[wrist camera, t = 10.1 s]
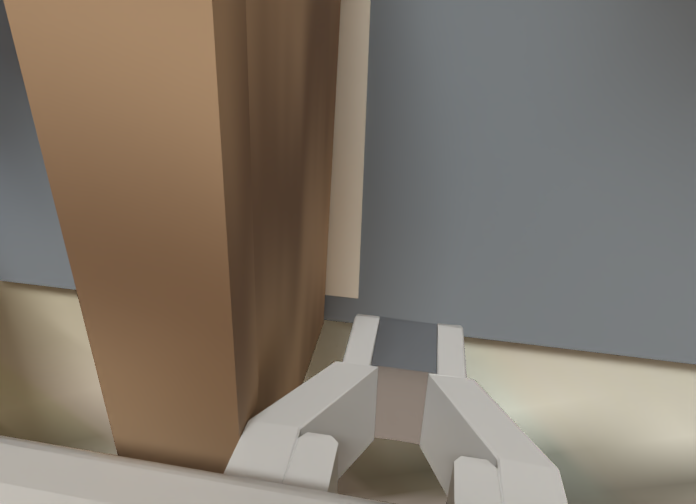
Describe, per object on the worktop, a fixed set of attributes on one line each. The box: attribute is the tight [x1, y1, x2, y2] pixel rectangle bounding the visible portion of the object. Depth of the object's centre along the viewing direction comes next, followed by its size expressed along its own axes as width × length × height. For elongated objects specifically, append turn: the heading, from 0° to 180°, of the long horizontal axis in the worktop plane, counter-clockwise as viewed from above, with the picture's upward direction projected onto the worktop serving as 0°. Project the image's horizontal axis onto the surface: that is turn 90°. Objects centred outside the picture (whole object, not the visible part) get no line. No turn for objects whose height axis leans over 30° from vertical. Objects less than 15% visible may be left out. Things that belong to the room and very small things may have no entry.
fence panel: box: [3, 0, 341, 474], centre depth 8 cm, size 13×2×7 cm, turn 175°
